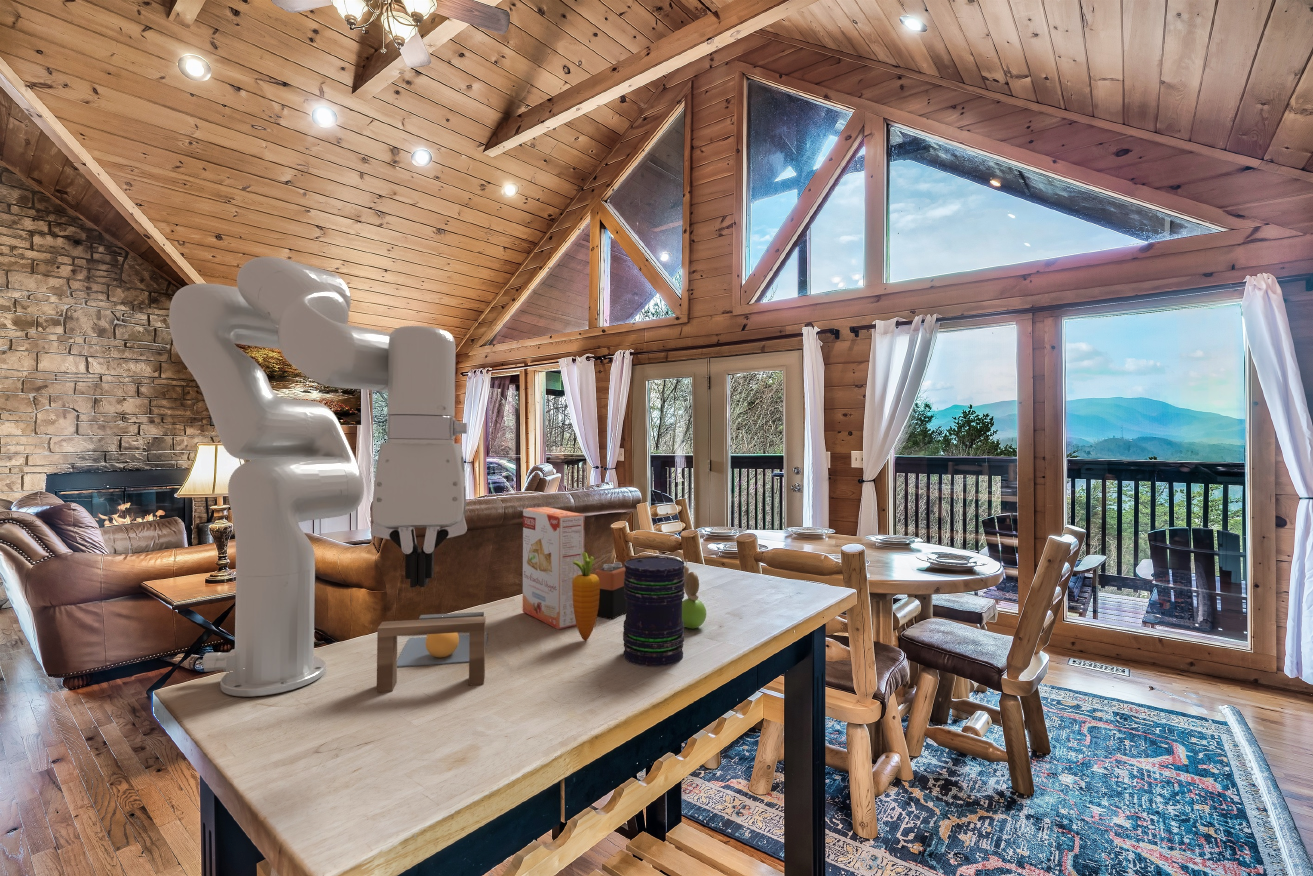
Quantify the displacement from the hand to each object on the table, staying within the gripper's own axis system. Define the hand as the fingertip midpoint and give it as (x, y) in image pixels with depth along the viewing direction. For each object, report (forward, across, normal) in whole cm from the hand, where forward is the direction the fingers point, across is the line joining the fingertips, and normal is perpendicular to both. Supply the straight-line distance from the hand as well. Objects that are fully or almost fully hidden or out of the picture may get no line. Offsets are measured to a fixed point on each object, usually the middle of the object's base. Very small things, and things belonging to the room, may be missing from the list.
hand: (419, 584), depth 72 cm
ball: (+15, 0, -24) cm, 28 cm away
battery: (+17, -30, -42) cm, 54 cm away
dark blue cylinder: (+17, -33, -18) cm, 41 cm away
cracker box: (+17, -18, -41) cm, 48 cm away
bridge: (+17, 0, -13) cm, 21 cm away
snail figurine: (+17, -43, -31) cm, 56 cm away
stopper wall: (+17, 0, -38) cm, 42 cm away
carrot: (+17, -23, -27) cm, 39 cm away
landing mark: (+17, 0, -27) cm, 32 cm away
